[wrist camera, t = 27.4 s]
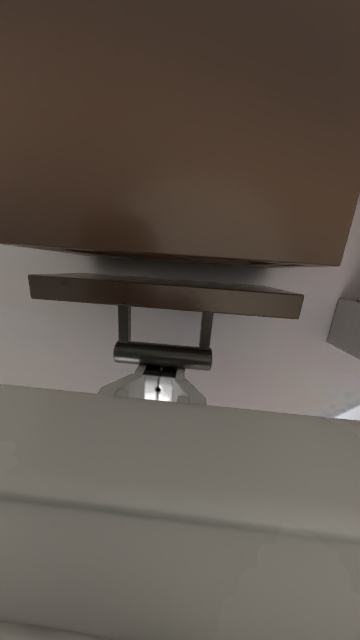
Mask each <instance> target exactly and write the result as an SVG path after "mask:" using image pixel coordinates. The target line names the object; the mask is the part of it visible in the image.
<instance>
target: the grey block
mask: <svg viewBox="0 0 360 640" xmlns="http://www.w3.org/2000/svg"><path fill="white" fill-rule="evenodd" d="M327 342H328V343H330V344H332V345H334V346H335V347H337V348H339V349H341V350H343V351H345V352H347V353H349V354H351V355H352V356H354V357H356V358H358V359H360V300H350V299H339V301H338V304H337V308H336V311H335V315H334V319H333V322H332V326H331V329H330V333H329V336H328V340H327Z"/></svg>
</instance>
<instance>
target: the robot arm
mask: <svg viewBox="0 0 360 640" xmlns="http://www.w3.org/2000/svg"><path fill="white" fill-rule="evenodd" d="M184 374H185V368H174V367H162V366H151V365H140V364H139V366H138V368H137V369H136V371H135V373H134V374H131V375H128V376H126V377H124V378H122V379H119V380H117V381H115V382H113V383H111V384H108V385H106V386H104V387H102V388H101V390H100V391H99V392H98V393H97V394H93V393H83V392H74V391H64V390H54V389H44V388H34V387H25V386H15V385H5V384H0V640H360V421H358V420H347V419H337V418H327V417H317V416H308V415H298V414H288V413H278V412H268V411H259V410H249V409H239V408H229V407H219V406H210V405H206V398H205V397H204V396H203V395H202V394H201V393H200V392H199V391H198V390H197V389H196V388H195V387H194V386H193V385H192V384H191V383H189V382H188V381H187V380H186V379H184Z"/></svg>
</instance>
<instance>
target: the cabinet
mask: <svg viewBox="0 0 360 640" xmlns="http://www.w3.org/2000/svg"><path fill="white" fill-rule="evenodd" d="M359 194H360V0H0V244H4V245H13V246H19V247H27V248H34V249H41V250H49V251H56V252H63V253H71V254H78V255H87V254H80V253H73V252H66V251H59V250H52V249H45V248H58V249H73V250H88V251H103V252H118V253H133V254H148V255H162V256H177V257H192V258H207V259H222V260H237V261H252V262H266V263H281V264H293V265H279V266H258V267H263V268H289V267H325V266H326V267H329V266H340V264H341V260H342V257H343V253H344V249H345V246H346V242H347V238H348V234H349V231H350V227H351V223H352V220H353V216H354V212H355V208H356V205H357V201H358V197H359ZM42 247H43V248H42ZM88 256H96V255H88ZM102 257H110V256H102ZM117 258H125V257H117ZM132 259H140V258H132ZM146 260H154V259H146ZM161 261H169V260H161ZM176 262H184V261H176ZM190 263H198V262H190ZM205 264H213V263H205ZM219 265H228V264H219ZM234 266H242V265H234ZM249 267H257V266H249Z"/></svg>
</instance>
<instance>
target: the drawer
mask: <svg viewBox="0 0 360 640" xmlns="http://www.w3.org/2000/svg"><path fill="white" fill-rule="evenodd" d="M42 248H43V247H42ZM45 249H52V250H59V251H66V252H73V253H80V254H87V255H96V256H110V257H125V258H140V259H154V260H169V261H184V262H198V263H213V264H228V265H242V266H257V267H258V266H279V265H293V264H281V263H266V262H252V261H237V260H222V259H207V258H192V257H177V256H162V255H148V254H133V253H118V252H103V251H88V250H73V249H58V248H45ZM28 279H29V287H30V295H31V298H32V299H44V300H57V301H69V302H82V303H95V304H108V305H118V324H119V341H117V343H116V345H115V348H114V361H115V362H118V363H129V364H140V365H151V366H162V367H174V368H185V369H196V370H207V371H209V370H210V369H211V365H212V350H211V348H209V346H210V338H211V329H212V320H213V313H223V314H236V315H249V316H262V317H274V318H287V319H299V316H300V312H301V307H302V303H303V299H304V295H302V294H298V293H293V292H289V291H284V290H280V289H275V288H271V287H266V286H259V285H245V284H231V283H217V282H203V281H190V280H176V279H162V278H148V277H134V276H120V275H106V274H92V273H68V274H33V275H28ZM131 306H134V307H146V308H159V309H172V310H185V311H198V312H202V321H201V331H200V341H199V347H192V346H180V345H168V344H156V343H145V342H133V341H130V340H131Z"/></svg>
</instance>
